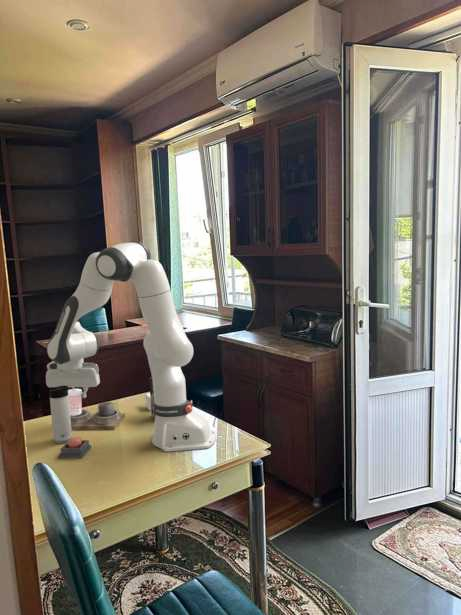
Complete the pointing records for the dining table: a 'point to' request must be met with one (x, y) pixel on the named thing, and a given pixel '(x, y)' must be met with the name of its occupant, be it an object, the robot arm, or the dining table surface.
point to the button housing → (75, 450)
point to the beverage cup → (75, 401)
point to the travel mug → (60, 414)
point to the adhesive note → (148, 401)
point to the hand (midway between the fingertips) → (74, 397)
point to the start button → (74, 442)
